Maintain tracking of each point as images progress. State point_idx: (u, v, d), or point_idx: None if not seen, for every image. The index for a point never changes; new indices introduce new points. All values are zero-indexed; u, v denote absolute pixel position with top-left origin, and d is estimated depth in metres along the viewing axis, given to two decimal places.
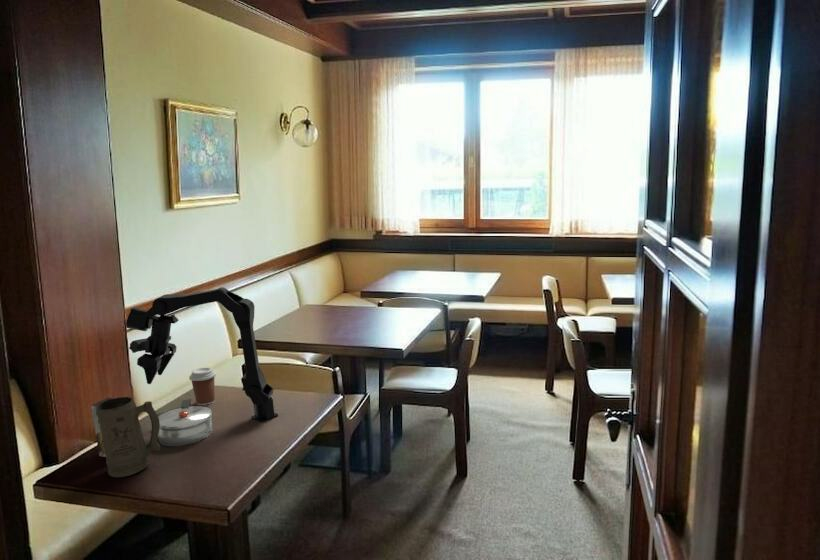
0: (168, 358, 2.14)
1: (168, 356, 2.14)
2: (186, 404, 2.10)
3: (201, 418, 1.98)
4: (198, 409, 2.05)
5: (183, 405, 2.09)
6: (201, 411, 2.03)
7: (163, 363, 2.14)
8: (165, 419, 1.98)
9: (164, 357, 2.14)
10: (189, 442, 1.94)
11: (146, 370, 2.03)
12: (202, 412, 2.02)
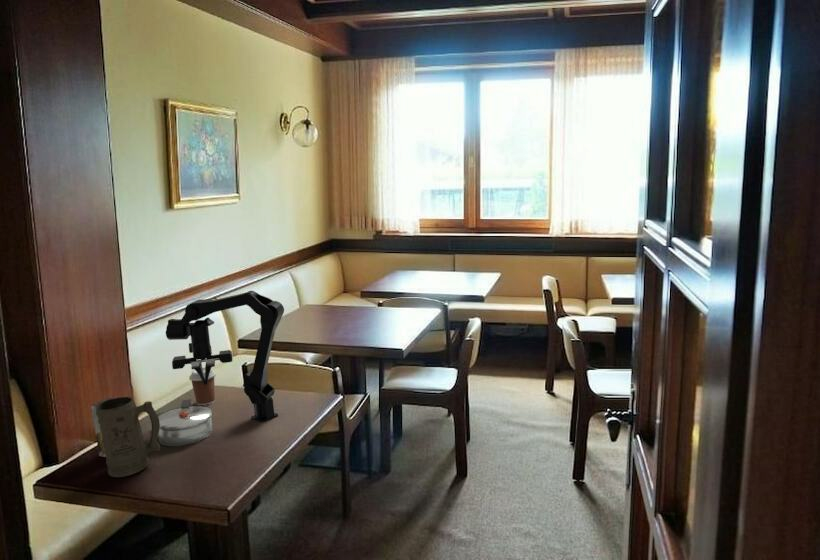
0: (205, 368, 2.10)
1: (205, 366, 2.10)
2: (186, 404, 2.10)
3: (201, 418, 1.98)
4: (198, 409, 2.05)
5: (183, 405, 2.09)
6: (201, 411, 2.03)
7: (205, 373, 2.12)
8: (165, 419, 1.98)
9: None
10: (189, 442, 1.94)
11: None
12: (202, 412, 2.02)
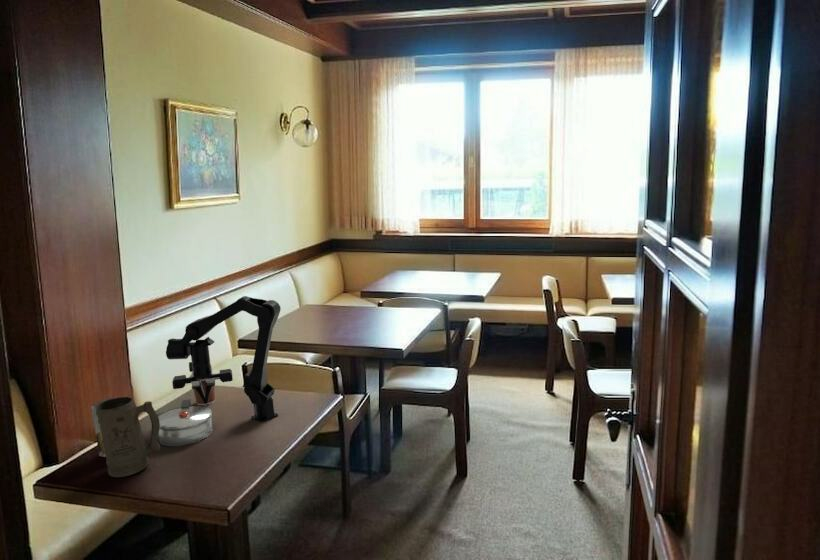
0: None
1: None
2: (186, 404, 2.10)
3: (201, 418, 1.98)
4: (198, 409, 2.05)
5: (183, 405, 2.09)
6: (201, 411, 2.03)
7: None
8: (165, 419, 1.98)
9: None
10: (189, 442, 1.94)
11: None
12: (202, 412, 2.02)
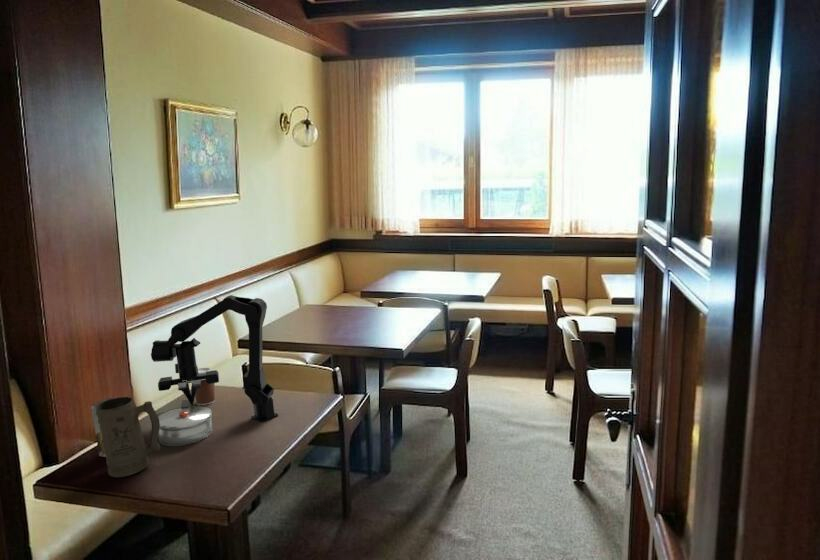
0: (191, 389, 2.10)
1: None
2: (186, 404, 2.10)
3: (201, 418, 1.98)
4: (198, 409, 2.05)
5: (183, 405, 2.09)
6: (201, 411, 2.03)
7: (191, 393, 2.11)
8: (165, 419, 1.98)
9: None
10: (189, 442, 1.94)
11: None
12: (202, 412, 2.02)
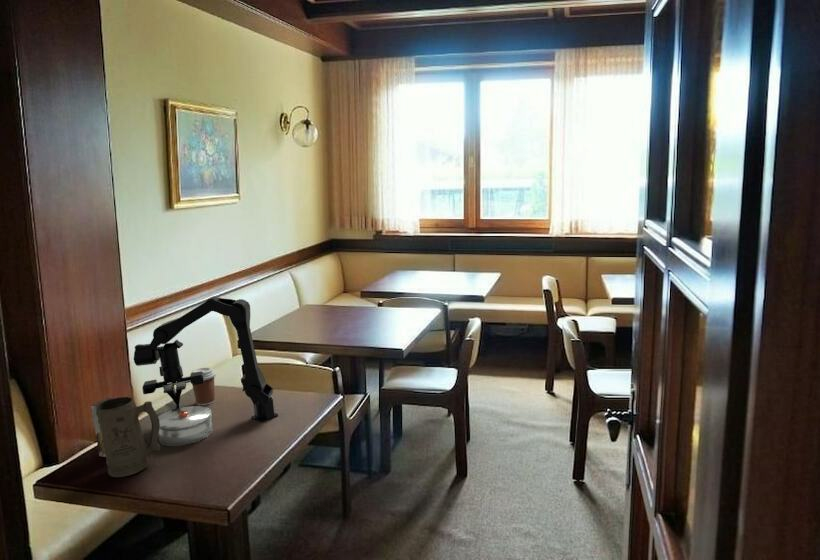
0: (176, 391, 2.08)
1: (176, 389, 2.08)
2: (174, 406, 2.08)
3: (205, 414, 2.00)
4: (193, 409, 2.06)
5: (172, 408, 2.08)
6: (199, 410, 2.05)
7: None
8: (166, 421, 1.96)
9: None
10: (189, 442, 1.94)
11: None
12: (200, 410, 2.04)
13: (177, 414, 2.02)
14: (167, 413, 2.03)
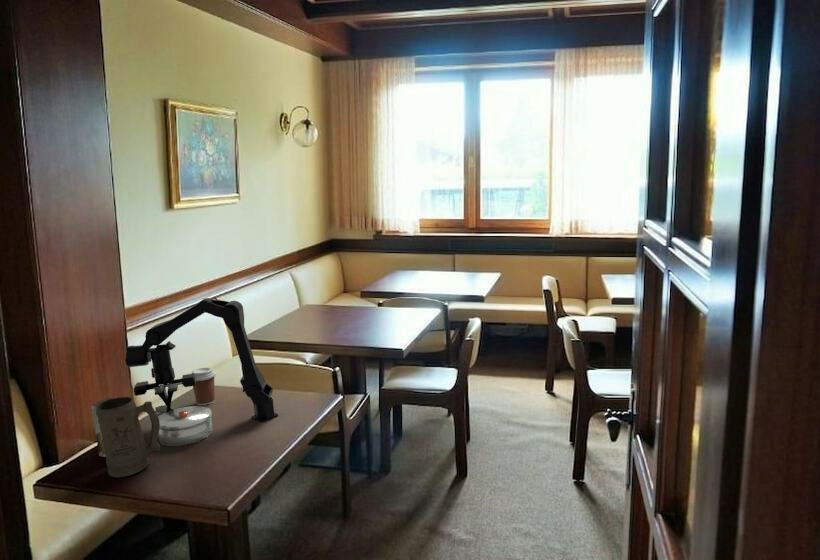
0: None
1: (167, 391, 2.07)
2: (167, 409, 2.07)
3: (207, 412, 2.02)
4: (189, 409, 2.06)
5: (165, 410, 2.06)
6: (196, 409, 2.05)
7: (167, 398, 2.09)
8: (169, 422, 1.96)
9: None
10: (189, 442, 1.94)
11: None
12: (198, 410, 2.05)
13: (175, 415, 2.01)
14: (164, 415, 2.02)
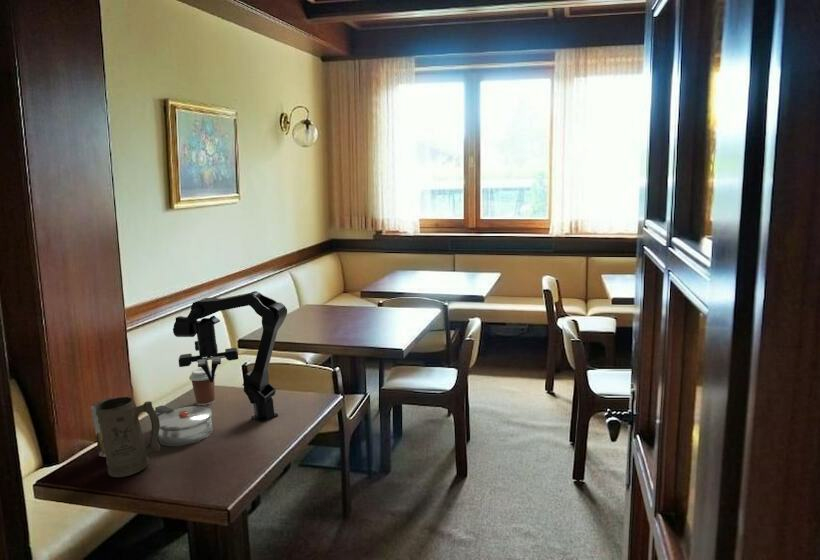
0: None
1: None
2: (166, 409, 2.07)
3: (207, 412, 2.02)
4: (189, 409, 2.06)
5: (165, 410, 2.06)
6: (196, 409, 2.05)
7: None
8: (169, 422, 1.96)
9: None
10: (189, 442, 1.94)
11: None
12: (198, 410, 2.05)
13: (175, 415, 2.01)
14: (163, 415, 2.02)
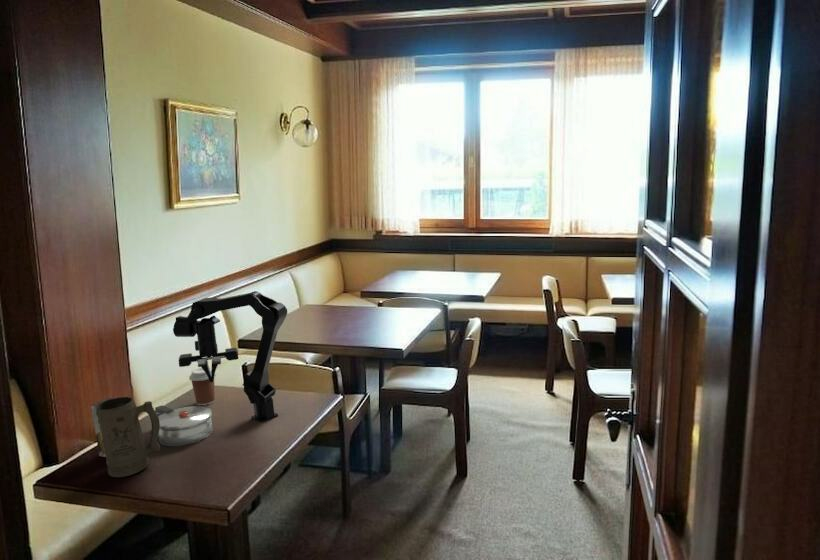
0: None
1: None
2: (166, 409, 2.07)
3: (207, 412, 2.02)
4: (189, 409, 2.06)
5: (165, 410, 2.06)
6: (196, 409, 2.05)
7: None
8: (169, 422, 1.96)
9: None
10: (189, 442, 1.94)
11: None
12: (198, 410, 2.05)
13: (175, 415, 2.01)
14: (163, 415, 2.02)
